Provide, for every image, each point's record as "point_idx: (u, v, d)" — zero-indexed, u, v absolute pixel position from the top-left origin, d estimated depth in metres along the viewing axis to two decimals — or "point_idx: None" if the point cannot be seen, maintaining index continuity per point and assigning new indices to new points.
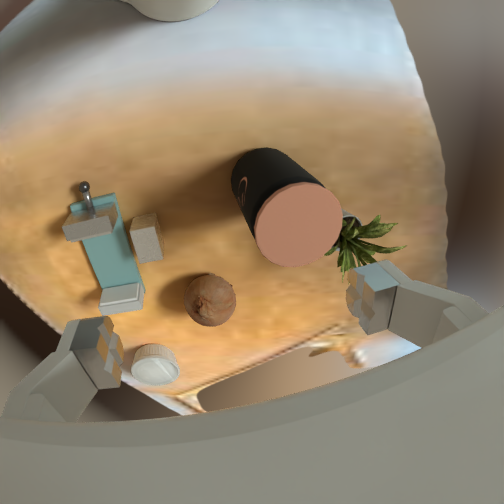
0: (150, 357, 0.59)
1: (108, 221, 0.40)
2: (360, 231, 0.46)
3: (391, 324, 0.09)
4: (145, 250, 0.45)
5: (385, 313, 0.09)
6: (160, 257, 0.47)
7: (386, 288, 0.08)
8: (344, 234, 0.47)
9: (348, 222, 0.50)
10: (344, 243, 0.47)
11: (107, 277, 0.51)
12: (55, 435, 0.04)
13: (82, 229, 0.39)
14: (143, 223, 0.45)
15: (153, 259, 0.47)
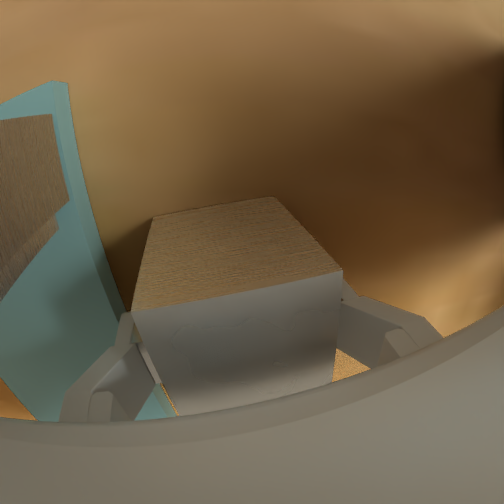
0: None
1: None
2: None
3: (338, 340, 0.09)
4: None
5: None
6: None
7: None
8: None
9: None
10: None
11: None
12: (55, 435, 0.04)
13: None
14: (233, 247, 0.07)
15: None
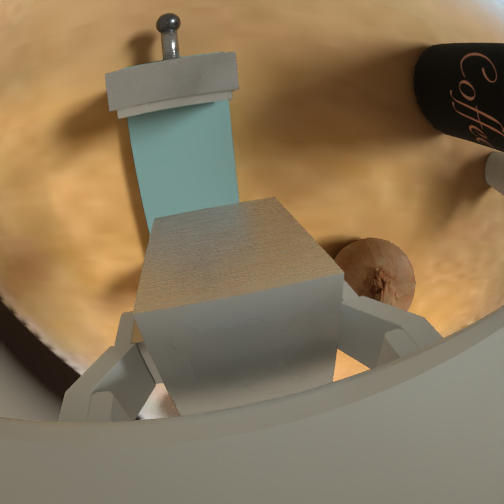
0: None
1: (232, 66, 0.16)
2: None
3: (338, 341, 0.09)
4: None
5: None
6: None
7: None
8: None
9: None
10: None
11: None
12: (55, 435, 0.04)
13: (158, 79, 0.15)
14: (235, 249, 0.07)
15: None
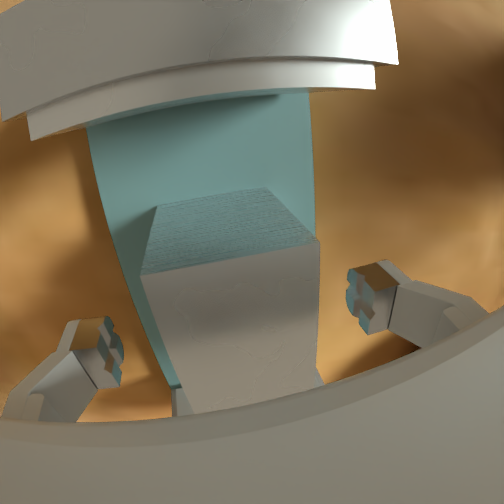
0: None
1: (381, 0, 0.04)
2: None
3: (391, 324, 0.09)
4: (238, 377, 0.08)
5: (385, 313, 0.09)
6: None
7: (386, 288, 0.08)
8: None
9: None
10: None
11: None
12: (55, 435, 0.04)
13: (154, 3, 0.04)
14: (227, 226, 0.08)
15: None
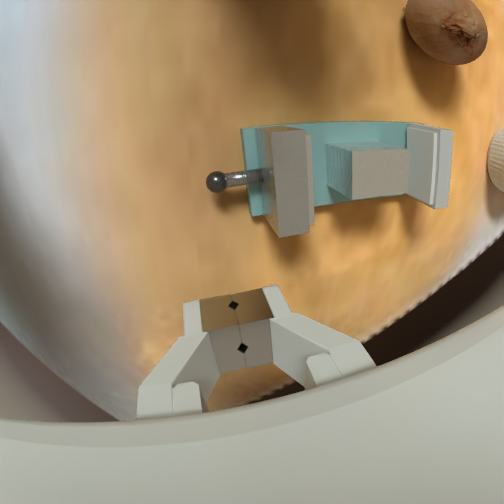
0: None
1: (284, 134, 0.20)
2: None
3: (276, 357, 0.09)
4: (389, 176, 0.23)
5: (262, 346, 0.08)
6: (406, 153, 0.22)
7: (255, 321, 0.08)
8: None
9: None
10: None
11: None
12: (55, 435, 0.04)
13: (291, 194, 0.22)
14: (341, 169, 0.24)
15: (406, 166, 0.23)
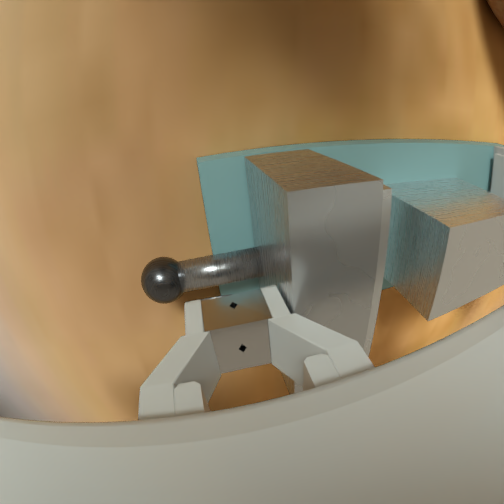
0: None
1: (329, 195, 0.07)
2: None
3: (275, 358, 0.09)
4: (492, 264, 0.10)
5: (260, 347, 0.08)
6: None
7: (253, 321, 0.08)
8: None
9: None
10: None
11: None
12: (55, 435, 0.04)
13: None
14: (412, 252, 0.11)
15: None
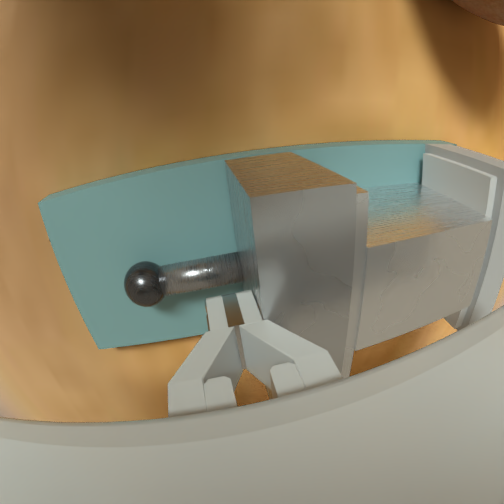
0: None
1: (295, 200, 0.06)
2: None
3: (249, 364, 0.08)
4: (446, 286, 0.09)
5: None
6: (485, 229, 0.09)
7: (224, 327, 0.08)
8: None
9: None
10: None
11: None
12: (55, 435, 0.04)
13: None
14: None
15: (480, 257, 0.09)
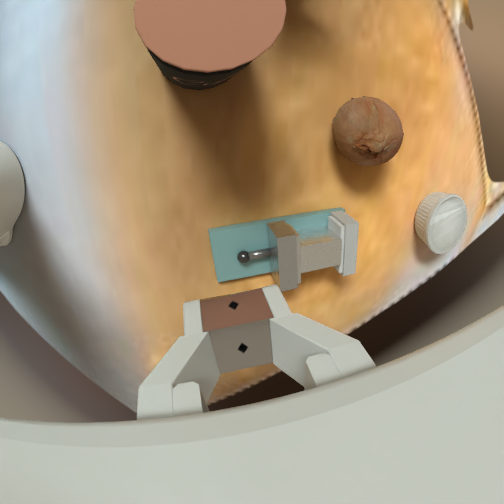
0: (428, 225, 0.43)
1: (284, 238, 0.37)
2: None
3: (276, 357, 0.09)
4: (327, 257, 0.40)
5: (262, 346, 0.08)
6: (339, 241, 0.39)
7: (255, 321, 0.08)
8: None
9: None
10: None
11: None
12: (55, 435, 0.04)
13: (287, 269, 0.39)
14: None
15: (339, 249, 0.40)
